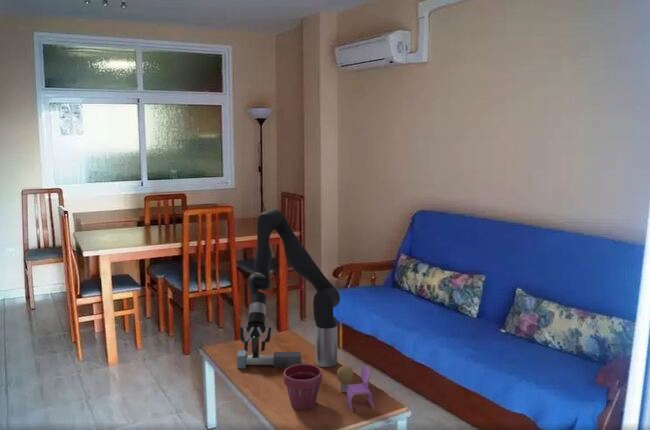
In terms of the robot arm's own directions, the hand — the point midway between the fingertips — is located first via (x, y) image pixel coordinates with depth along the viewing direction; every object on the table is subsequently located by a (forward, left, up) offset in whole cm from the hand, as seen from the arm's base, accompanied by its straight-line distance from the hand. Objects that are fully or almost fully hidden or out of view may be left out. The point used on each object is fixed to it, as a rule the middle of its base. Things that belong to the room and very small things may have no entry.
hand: (254, 350), depth 235 cm
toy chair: (-43, +34, -8) cm, 55 cm away
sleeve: (-14, -2, -7) cm, 16 cm away
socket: (+6, -2, -7) cm, 10 cm away
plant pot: (-22, +32, -7) cm, 40 cm away
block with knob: (-4, -2, -6) cm, 7 cm away
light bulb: (-38, +22, -7) cm, 44 cm away
